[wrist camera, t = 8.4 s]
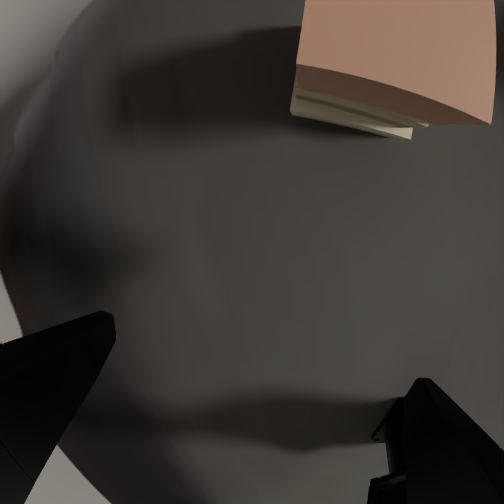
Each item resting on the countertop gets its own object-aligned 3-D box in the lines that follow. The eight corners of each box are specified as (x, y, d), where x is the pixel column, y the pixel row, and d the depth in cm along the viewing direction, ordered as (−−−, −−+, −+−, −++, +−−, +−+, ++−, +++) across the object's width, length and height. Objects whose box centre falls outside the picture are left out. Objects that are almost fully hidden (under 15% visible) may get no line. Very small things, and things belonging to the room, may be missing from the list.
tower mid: (397, 128, 13) (428, 127, 9) (296, 98, 13) (294, 85, 10) (414, 39, 11) (444, 14, 7) (316, 9, 11) (318, -28, 8)
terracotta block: (433, 124, 9) (491, 124, 5) (299, 89, 10) (296, 63, 6) (442, 10, 7) (490, -27, 3) (316, -26, 8) (318, -85, 4)
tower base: (389, 138, 17) (410, 139, 13) (292, 115, 17) (289, 110, 13) (402, 49, 14) (423, 32, 11) (306, 26, 15) (306, 1, 11)
